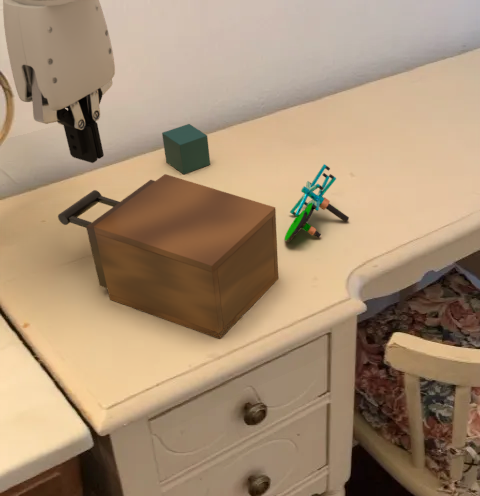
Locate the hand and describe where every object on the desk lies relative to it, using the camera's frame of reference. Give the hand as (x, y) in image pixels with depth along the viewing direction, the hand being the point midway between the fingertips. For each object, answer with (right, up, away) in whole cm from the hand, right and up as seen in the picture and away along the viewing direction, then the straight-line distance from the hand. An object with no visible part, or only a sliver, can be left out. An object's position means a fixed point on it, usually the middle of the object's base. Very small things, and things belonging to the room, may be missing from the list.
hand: (87, 156), depth 90 cm
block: (+5, +7, +26) cm, 28 cm away
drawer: (+5, -11, +7) cm, 14 cm away
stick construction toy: (+24, -4, +17) cm, 29 cm away
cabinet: (+11, -14, +6) cm, 18 cm away
